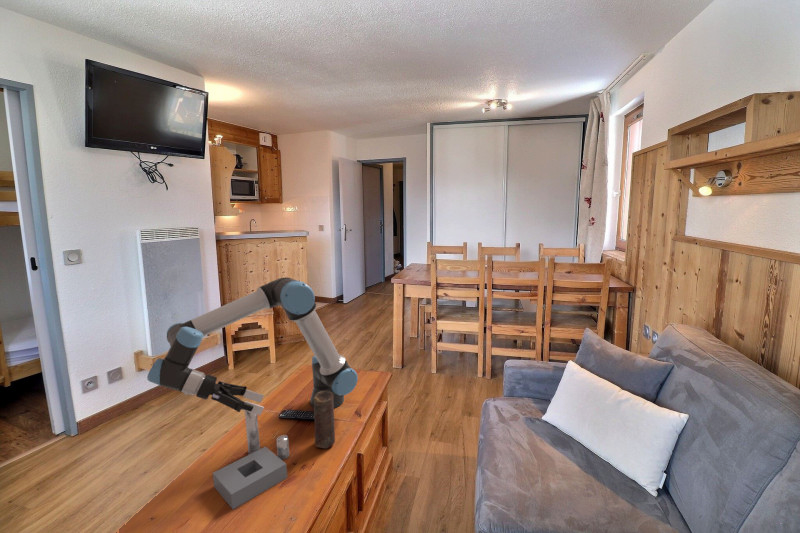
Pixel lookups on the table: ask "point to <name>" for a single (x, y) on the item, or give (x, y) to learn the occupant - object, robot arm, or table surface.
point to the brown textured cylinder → (324, 419)
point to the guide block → (249, 476)
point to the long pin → (252, 432)
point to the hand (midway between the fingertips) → (262, 404)
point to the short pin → (282, 447)
